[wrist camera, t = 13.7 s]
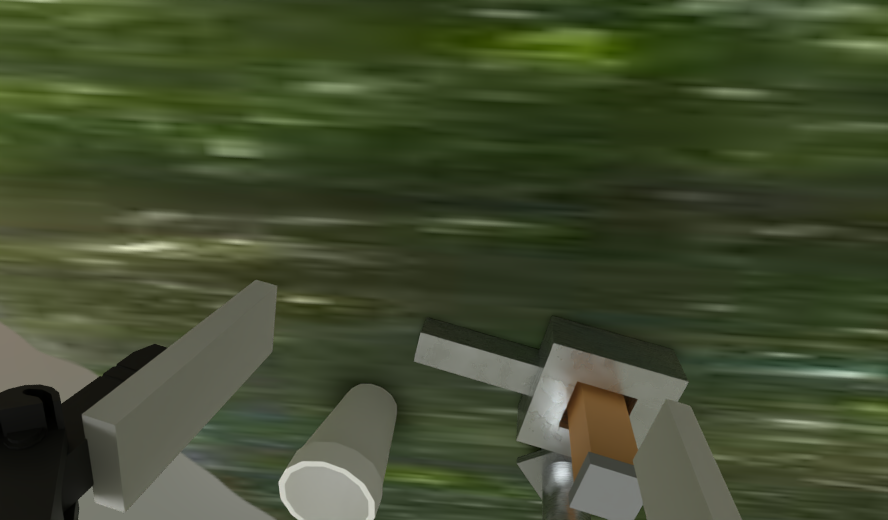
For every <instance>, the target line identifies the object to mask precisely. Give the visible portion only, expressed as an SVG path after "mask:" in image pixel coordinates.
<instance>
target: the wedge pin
mask: <svg viewBox="0 0 888 520" xmlns="http://www.w3.org/2000/svg"><path fill="white" fill-rule="evenodd" d="M567 414H568V425H569V436H570V447H571V458H572V469H573V480H574V483H573V485H572V487H571V489H570V491H569V493H568V499H569V507H570V508H574V509H577V510H580V511H583V512H586V513H590V514H593V515H596V516H599V517H602V518H606V519H609V520H634V519H635V517H636V515H637V514H638V512H639V510H640V509H641V507H642V505H643V501H642V497H641V493H640V489H639V485H638V481H637V476H636V472H635V468H634V464H633V459H634V457H635V455H636V453H637V451H638V448H637V444H636V441H635V437H634V433H633V429H632V426H631V422H630V418H629V414H628V410H627V407H626V403H625V399H624V395H622V394H619V393H615V392H612V391H609V390H605V389H602V388H598V387H595V386H591V385H588V384H585V383H581V382H578V381H577V383H576V385H575V387H574V390H573V392H572V394H571V397H570V399H569V401H568V404H567Z"/></svg>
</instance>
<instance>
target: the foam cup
mask: <svg viewBox="0 0 888 520" xmlns="http://www.w3.org/2000/svg"><path fill="white" fill-rule="evenodd" d="M396 416H397V404H396V402H395V400H394V398H393V397H392V395H391V394H390V393H388V392H387V391H386V390H385V389H383V388H382V387H379V386H376V385H373V384H359V385H357V386H355V387H353V388H351V389H350V391H349V392H348V393H347V394H346V395H345V396H344V397H343V399H342V400H341V401H340V402H339V403H338V405H337V406H336V407H335V408H334V410H333V411H332V412H331V413H330V414H329V416H328V417H327V418H326V419H325V420H324V422H323V423H322V424H321V425H320V427H319V428H318V429H317V430H316V431H315V433H314V434H313V435H312V436H311V437H310V439H309V440H308V441H307V442H306V443H305V445H304V446H303V447H302V448H300V449H298V450H297V452H296V453H295V455H294V457H293V458H292V460H291V462H290V463H289V465H288V466H287V468H286V470H285V472H284V473H283V475H282V477H281V479H280V480H279V490H280V498H281V500H282V501H283V503H284V504H285V506H286V507H287V509H288V510H289V512H290V513H291V515H293V516H294V517H295V518H297V519H298V520H373V519H374V518H375V515H376V513H377V510H378V507H379V504H380V501H381V498H382V485H383V480H384V475H385V471H386V466H387V461H388V456H389V451H390V446H391V441H392V436H393V432H394V427H395V422H396Z"/></svg>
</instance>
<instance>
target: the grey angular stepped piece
mask: <svg viewBox="0 0 888 520" xmlns="http://www.w3.org/2000/svg"><path fill="white" fill-rule="evenodd" d="M414 362H418V363H421V364H424V365H428V366H431V367H435V368H438V369H441V370H445V371H448V372H451V373H455V374H458V375H462V376H465V377H468V378H472V379H475V380H478V381H482V382H485V383H488V384H492V385H495V386H499V387H502V388H505V389H509V390H512V391H515V392H519V393H522V394H523V395H522V398H521V400H520V403H519V406H518V417H517V437H516V441H520V442H523V443H526V444H529V445H533V446H536V447H539V448H542V450H539V451H536V452H533V453H530V454H527V455H524V456H521V457H518V458H517V464H518V466H519V467H520V469H521V470H522V471H523V473H524V474H525V476H526V477H527V479H528V480H529V482H530V483H531V484H532V486H533V487H534V489H535V490H536V492H537V493H538V495H539V496H540V497H541V499H542V510H543V520H591V516H590V513H586V512H583V511H580V510H577V509H574V508H570V507H569V499H568V493H569V491H570V489H571V487H572V485H573V483H574V480H573V469H572V458H571V447H570V436H569V425H568V414H567V404H568V401H569V399H570V397H571V394H572V392H573V390H574V387H575V385H576V383H577V381H578V382H581V383H585V384H588V385H591V386H595V387H598V388H602V389H605V390H609V391H612V392H615V393H619V394H622V395H624V399H625V403H626V407H627V410H628V414H629V418H630V422H631V426H632V429H633V433H634V437H635V441H636V444H637V448H638V450H639V448H640V446H641V444H642V442H643V440H644V439H645V437H646V435H647V433H648V431H649V429H650V427H651V426H652V424H653V422H654V420H655V418H656V416H657V415H658V413H659V411H660V409H661V407H662V405H663V403H664V402H665V400H666V399H668V400H672V401H675V402H678V400H679V398H680V397H681V395H682V393H683V391H684V389H685V388H686V386H687V384H688V382H689V381H688V379H687V377H686V375H685V373H684V371H683V369H682V367H681V365H680V363H679V361H678V359H677V357H676V354H675V352H674V350H673V349H669V348H665V347H662V346H658V345H655V344H651V343H648V342H644V341H641V340H637V339H633V338H630V337H626V336H623V335H619V334H616V333H612V332H609V331H605V330H602V329H598V328H594V327H591V326H587V325H584V324H580V323H577V322H573V321H570V320H566V319H563V318H559V317H555V316H552V317H551V319H550V322H549V325H548V327H547V330H546V333H545V335H544V338H543V341H542V344H541V346H540V349H535V348H532V347H528V346H525V345H521V344H518V343H514V342H511V341H507V340H504V339H500V338H497V337H493V336H490V335H487V334H483V333H480V332H476V331H473V330H469V329H466V328H462V327H459V326H455V325H452V324H448V323H445V322H441V321H438V320H434V319H431V318H428V317H427V319H426V321H425V323H424V326H423V328H422V331H421V333H420V337H419V342H418V346H417V350H416V355H415V359H414Z"/></svg>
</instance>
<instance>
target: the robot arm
mask: <svg viewBox="0 0 888 520" xmlns="http://www.w3.org/2000/svg"><path fill="white" fill-rule="evenodd" d="M276 294H277V286H276V285H272V284H269V283H265V282H262V281H258V280H255V281H254V282H252V283H251V284H250V285H249V286H247V287H246V288H245V289H243V290H242V291H241V292H239V293H238V294H237V295H236V296H234V297H233V298H232V299H230V300H229V301H228V302H227V303H225V304H224V305H223V306H221V307H220V308H219V309H217V310H216V311H215V312H214V313H212V314H211V315H210V316H208V317H207V318H206V319H205V320H203V321H202V322H201V323H199V324H198V325H197V326H195V327H194V328H193V329H192V330H190V331H189V332H188V333H186V334H185V335H184V336H183V337H181V338H180V339H179V340H177V341H176V342H175V343H173V344H172V345H171V346H170V347H168V348H166V347H163V346H160V345H157V344H153V345H150V346H148V347H145V348H143V349H140V350H138V351H135V352H133V353H132V354H130V355H129V356H127V357H126V358H125V359H123V360H122V361H120V362H119V363H118V364H117V366H116V367H112V368H111V369H109V370H108V371H107V372H105V373H104V374H103V376H102V377H101V376H100V377H98V378H97V379H95V380H94V381H93V382H91V383H90V384H88V385H87V386H86V387H84V388H83V389H81V390H80V391H79V392H77V393H76V394H74V395H73V396H72V397H70V398H69V399H68V400H66V401H65V402H63V403H62V404H61V401H60V395H59V392H57V391H56V390H55V389H54V388H52V387H49V386H44V385H24V386H20V387H16V388H11V389H8V390H5V391H3V392H1V393H0V520H78V514H79V504H78V499H79V498H80V497H81V496H82V495H83V494H84V493H85V492H86V491H88V489H90V488H91V487H92V486H93V492H94V499H95V503H97V504H100V505H103V506H106V507H109V508H112V509H115V510H118V511H121V512H124V513H125V512H126V511H127V510H128V509H129V508H130V507H131V506H132V505H133V503H134V502H135V501H136V500H137V499H138V498H139V497H140V496H141V495H142V493H144V491H145V490H146V489H147V488H148V487H149V486H150V485H151V484H152V483H153V481H154V480H155V479H156V478H157V477H158V476H159V475H160V474H161V473H162V472H163V471H164V470H165V468H166V467H167V466H168V465H169V464H170V463H171V462H172V461H173V460H174V459H175V457H176V456H177V455H178V454H179V453H180V452H181V451H182V450H183V449H184V448H185V447H186V446H187V444H188V443H189V442H190V441H191V440H192V439H193V438H194V437H195V436H196V435H197V433H198V432H199V431H200V430H201V429H202V428H203V427H204V426H205V425H206V424H207V423H208V421H209V420H210V419H211V418H212V417H213V416H214V415H215V414H216V413H217V412H218V411H219V409H220V408H221V407H222V406H223V405H224V404H225V403H226V402H227V401H228V400H229V398H230V397H231V396H232V395H233V394H234V393H235V392H236V391H237V390H238V389H239V388H240V386H241V385H242V384H243V383H244V382H245V381H246V380H247V379H248V378H249V377H250V375H251V374H252V373H253V372H254V371H255V370H256V369H257V368H258V367H259V366H260V365H261V363H262V362H263V361H264V360H265V359H266V358H267V357H268V356H269V355H270V354H271V353H272V349H273V335H274V321H275V308H276ZM633 464H634V468H635V472H636V476H637V481H638V485H639V489H640V493H641V497H642V501H643V505H644V509H645V513H646V517H647V520H742V519H741V517H740V514H739V512H738V510H737V508H736V506H735V503H734V501H733V499H732V497H731V495H730V492H729V490H728V488H727V486H726V483H725V481H724V479H723V477H722V475H721V472H720V470H719V468H718V466H717V464H716V461H715V459H714V457H713V455H712V453H711V450H710V448H709V446H708V444H707V442H706V439H705V437H704V435H703V433H702V431H701V428H700V426H699V424H698V422H697V420H696V417H695V415H694V413H693V411H692V408H691V406H689V405H685V404H682V403H679V402H675V401H672V400H668V399H666V400H665V402H664V403H663V405H662V407H661V409H660V411H659V413H658V415H657V416H656V418H655V420H654V422H653V424H652V426H651V427H650V429H649V431H648V433H647V435H646V437H645V439H644V440H643V442H642V444H641V446H640V448H639V450H638V451H637V453H636V455H635V457H634V459H633Z"/></svg>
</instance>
